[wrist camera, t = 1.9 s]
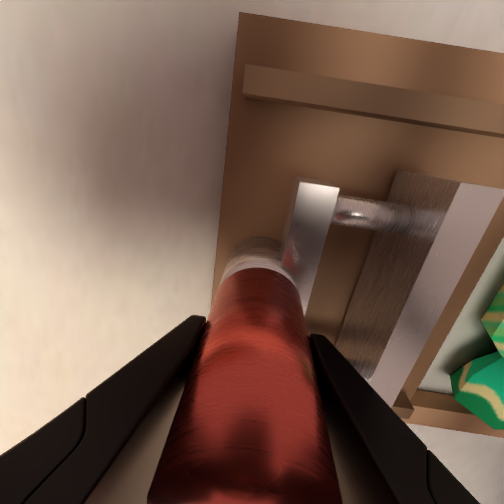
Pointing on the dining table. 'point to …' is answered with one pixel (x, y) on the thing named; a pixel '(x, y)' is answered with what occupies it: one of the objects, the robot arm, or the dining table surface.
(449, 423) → the wooden vise
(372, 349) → the lever
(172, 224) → the dining table surface
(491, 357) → the candy
